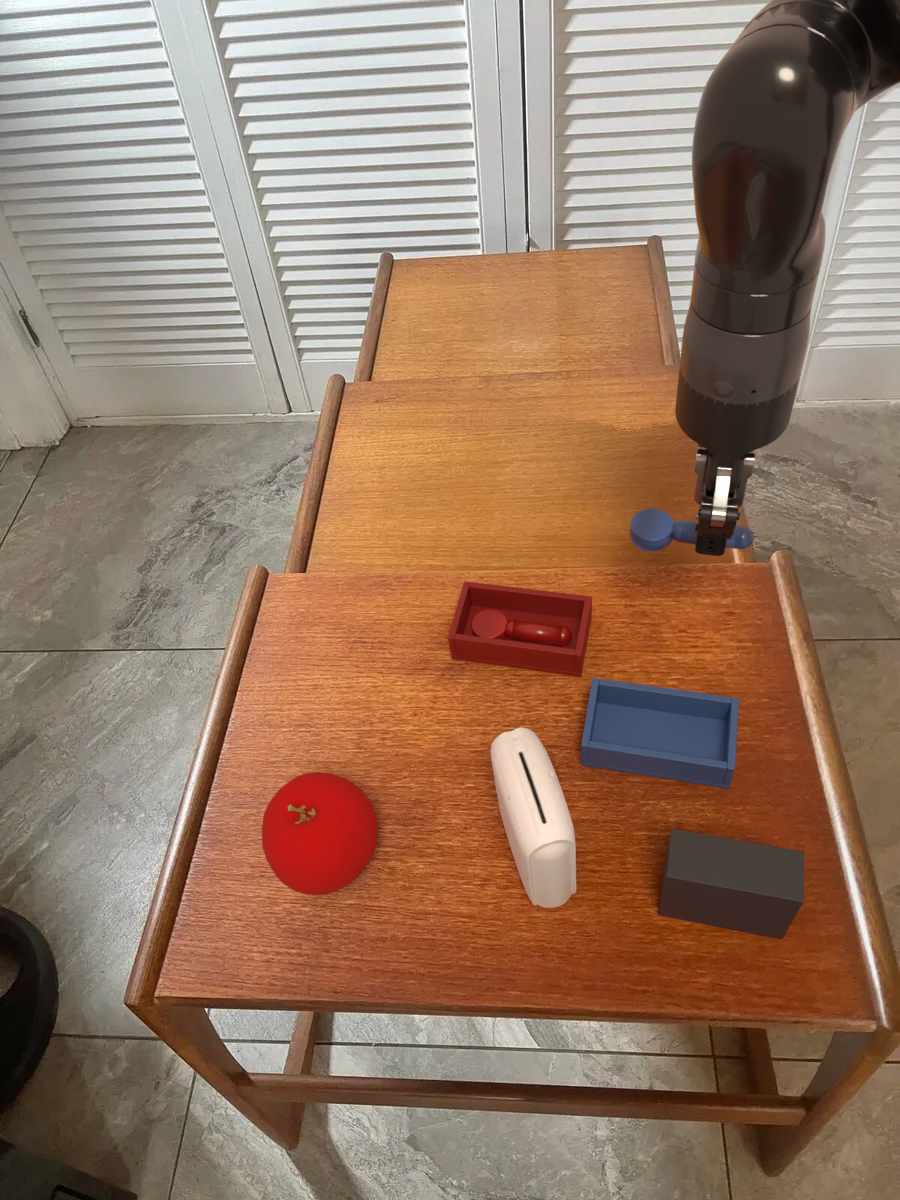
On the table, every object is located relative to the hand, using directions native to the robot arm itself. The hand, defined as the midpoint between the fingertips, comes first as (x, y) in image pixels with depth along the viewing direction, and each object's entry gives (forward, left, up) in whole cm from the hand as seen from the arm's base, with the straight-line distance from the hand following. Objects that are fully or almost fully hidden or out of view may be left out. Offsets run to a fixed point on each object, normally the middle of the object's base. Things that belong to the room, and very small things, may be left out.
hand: (710, 539), depth 71 cm
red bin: (+16, +2, -15) cm, 22 cm away
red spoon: (+16, +2, -14) cm, 21 cm away
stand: (-4, +23, -15) cm, 28 cm away
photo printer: (+11, +22, -15) cm, 28 cm away
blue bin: (+2, +10, -15) cm, 18 cm away
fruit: (+27, +25, -15) cm, 40 cm away
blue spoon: (+2, 0, 0) cm, 2 cm away
